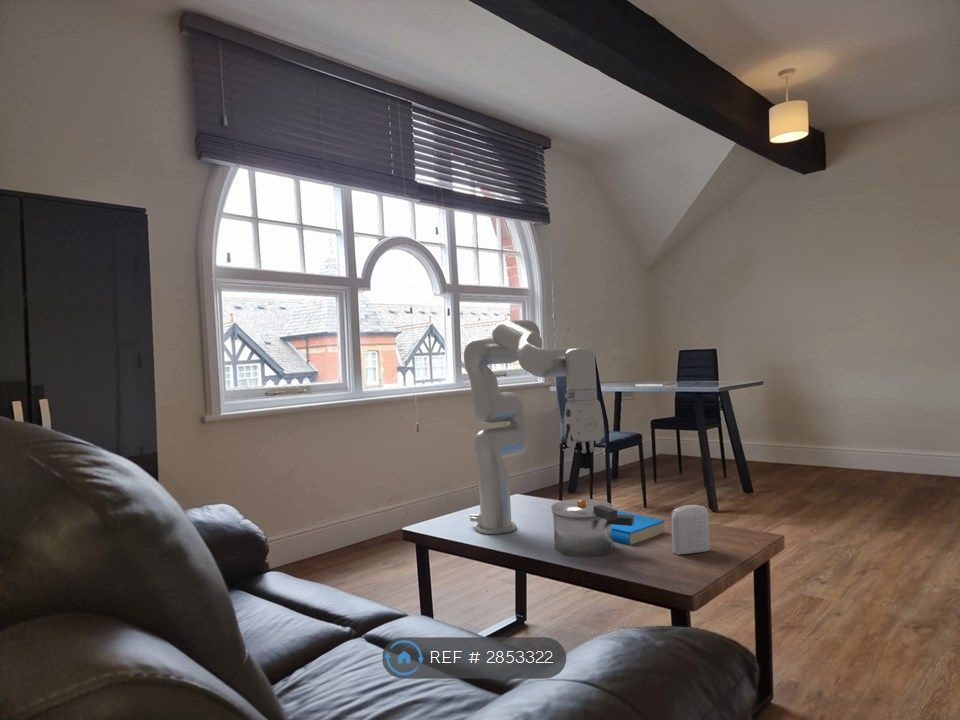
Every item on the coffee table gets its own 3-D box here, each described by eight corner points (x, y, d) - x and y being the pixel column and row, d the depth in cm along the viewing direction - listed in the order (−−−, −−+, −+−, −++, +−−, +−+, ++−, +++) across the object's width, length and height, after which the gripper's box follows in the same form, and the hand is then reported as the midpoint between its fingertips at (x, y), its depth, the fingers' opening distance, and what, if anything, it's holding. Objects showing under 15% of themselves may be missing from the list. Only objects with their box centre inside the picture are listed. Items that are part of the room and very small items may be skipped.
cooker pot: (546, 553, 173) (545, 516, 173) (564, 537, 188) (563, 503, 188) (627, 561, 164) (626, 522, 164) (640, 543, 178) (638, 508, 178)
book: (598, 507, 208) (664, 519, 188) (599, 520, 208) (665, 533, 188) (562, 517, 197) (629, 531, 177) (563, 531, 196) (630, 546, 177)
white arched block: (703, 547, 173) (701, 501, 173) (712, 551, 169) (711, 505, 169) (669, 551, 170) (667, 505, 170) (678, 556, 166) (676, 509, 166)
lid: (540, 508, 181) (540, 498, 181) (590, 500, 188) (589, 490, 188) (586, 527, 160) (585, 515, 160) (639, 517, 167) (639, 506, 167)
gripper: (569, 398, 156) (573, 473, 156) (613, 394, 164) (616, 465, 164) (549, 398, 162) (553, 470, 162) (593, 393, 170) (596, 462, 170)
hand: (585, 467), depth 163 cm, fingers closed
